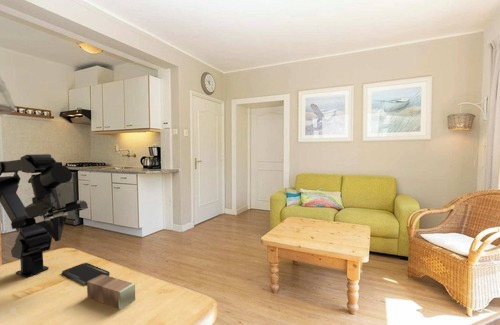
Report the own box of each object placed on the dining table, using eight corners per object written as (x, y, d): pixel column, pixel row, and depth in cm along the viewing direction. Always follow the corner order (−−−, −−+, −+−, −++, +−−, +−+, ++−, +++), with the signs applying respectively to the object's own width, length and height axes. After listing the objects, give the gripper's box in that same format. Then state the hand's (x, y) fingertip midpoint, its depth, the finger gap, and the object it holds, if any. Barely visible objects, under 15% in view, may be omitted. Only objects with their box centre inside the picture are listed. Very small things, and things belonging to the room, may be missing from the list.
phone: (85, 262, 90) (111, 272, 83) (85, 265, 90) (111, 275, 83) (60, 271, 83) (85, 283, 76) (60, 275, 83) (85, 287, 76)
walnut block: (86, 281, 70) (120, 292, 65) (102, 274, 74) (134, 283, 69) (87, 297, 70) (120, 309, 65) (102, 289, 74) (135, 299, 69)
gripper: (-10, 202, 70) (3, 257, 68) (65, 181, 74) (78, 233, 72) (18, 202, 80) (30, 250, 79) (82, 184, 85) (94, 229, 83)
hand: (58, 241), depth 78 cm, fingers closed
